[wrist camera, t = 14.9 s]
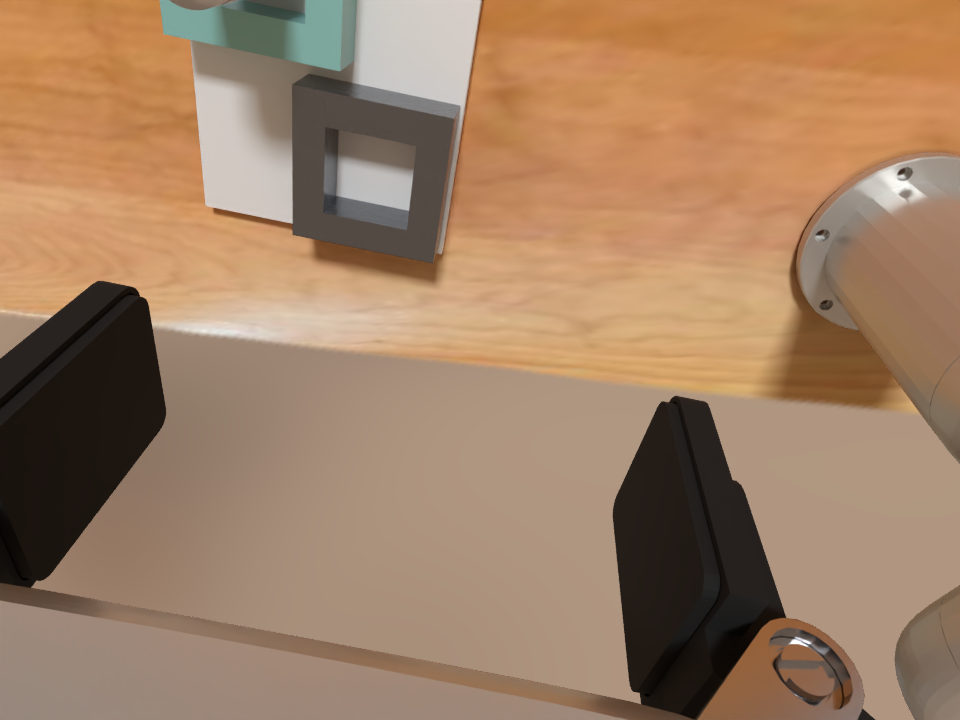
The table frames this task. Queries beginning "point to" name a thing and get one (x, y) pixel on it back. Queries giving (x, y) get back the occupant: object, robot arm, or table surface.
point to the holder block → (379, 115)
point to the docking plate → (361, 159)
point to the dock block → (272, 29)
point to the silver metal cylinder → (200, 3)
